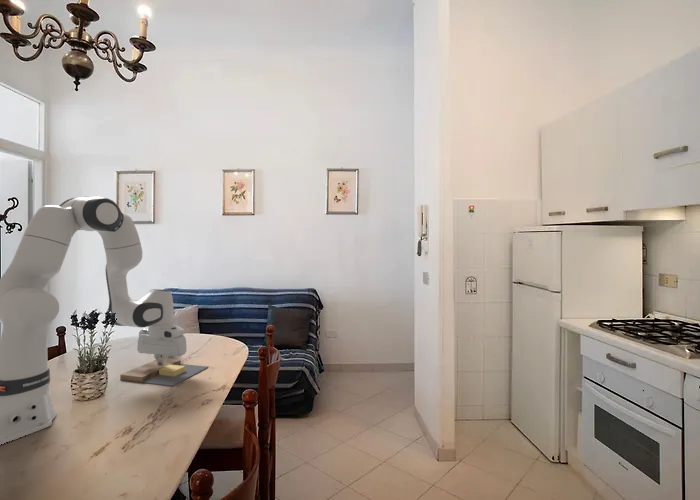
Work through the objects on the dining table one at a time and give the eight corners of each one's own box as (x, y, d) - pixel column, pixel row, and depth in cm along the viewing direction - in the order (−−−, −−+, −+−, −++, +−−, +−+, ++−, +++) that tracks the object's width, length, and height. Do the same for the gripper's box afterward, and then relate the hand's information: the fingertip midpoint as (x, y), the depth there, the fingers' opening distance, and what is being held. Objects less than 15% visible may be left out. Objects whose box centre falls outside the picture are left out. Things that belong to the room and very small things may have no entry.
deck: (142, 382, 137) (142, 377, 137) (120, 379, 140) (120, 374, 140) (180, 364, 156) (180, 359, 156) (160, 362, 159) (160, 357, 159)
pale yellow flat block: (174, 376, 142) (174, 371, 142) (158, 374, 144) (158, 369, 144) (185, 371, 148) (185, 366, 148) (170, 369, 150) (170, 364, 150)
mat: (172, 386, 134) (172, 385, 134) (142, 382, 137) (142, 381, 137) (208, 367, 153) (208, 366, 153) (181, 364, 156) (181, 363, 156)
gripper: (132, 330, 146) (133, 365, 146) (177, 334, 141) (178, 370, 141) (145, 326, 152) (146, 360, 153) (188, 330, 147) (189, 365, 147)
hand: (161, 365), depth 147 cm, fingers closed
